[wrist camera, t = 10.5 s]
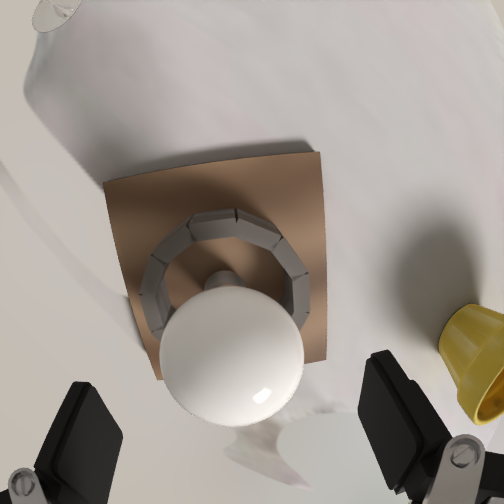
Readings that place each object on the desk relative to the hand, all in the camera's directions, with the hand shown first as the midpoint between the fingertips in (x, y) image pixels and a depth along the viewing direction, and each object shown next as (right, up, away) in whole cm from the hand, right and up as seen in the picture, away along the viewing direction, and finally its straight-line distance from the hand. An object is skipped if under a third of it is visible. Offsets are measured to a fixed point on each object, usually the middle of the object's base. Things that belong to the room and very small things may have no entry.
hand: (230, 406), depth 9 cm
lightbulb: (-1, +3, +11) cm, 12 cm away
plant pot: (+23, -3, +17) cm, 28 cm away
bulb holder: (-1, +3, +12) cm, 13 cm away
